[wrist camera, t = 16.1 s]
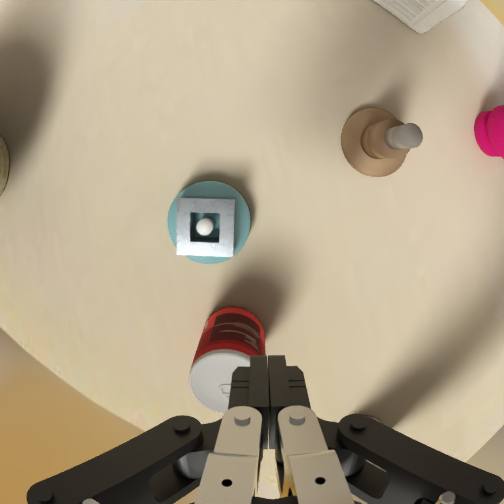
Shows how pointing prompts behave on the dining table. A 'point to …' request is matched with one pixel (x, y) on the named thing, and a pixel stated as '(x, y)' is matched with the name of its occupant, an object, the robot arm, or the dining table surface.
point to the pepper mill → (491, 131)
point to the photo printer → (422, 11)
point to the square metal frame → (206, 245)
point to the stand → (378, 141)
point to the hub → (212, 217)
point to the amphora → (3, 164)
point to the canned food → (224, 354)
